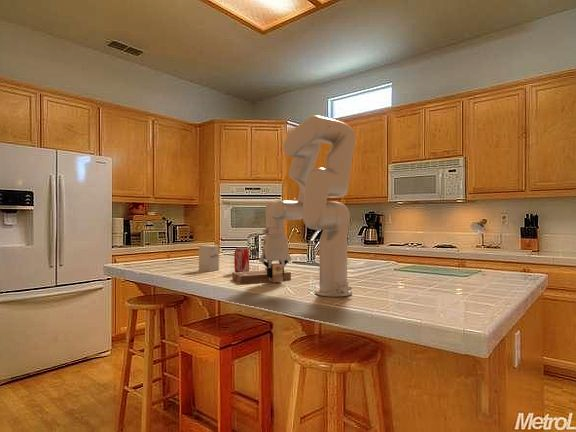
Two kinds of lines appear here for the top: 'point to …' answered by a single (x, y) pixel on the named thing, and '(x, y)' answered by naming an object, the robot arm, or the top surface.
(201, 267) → the supplement box
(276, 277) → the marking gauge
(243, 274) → the walnut plank
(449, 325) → the top surface
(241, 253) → the soda can
